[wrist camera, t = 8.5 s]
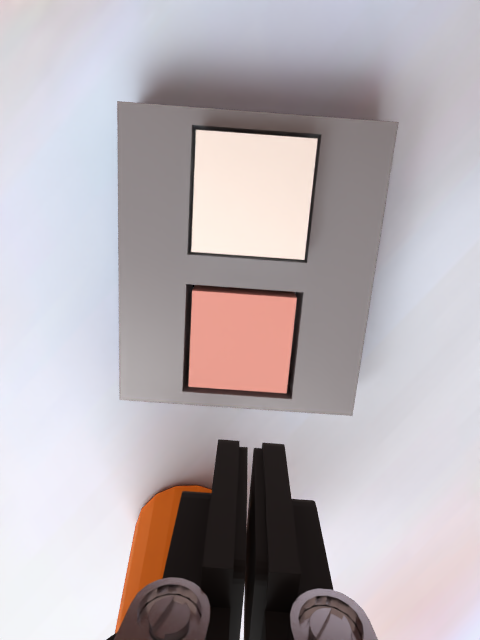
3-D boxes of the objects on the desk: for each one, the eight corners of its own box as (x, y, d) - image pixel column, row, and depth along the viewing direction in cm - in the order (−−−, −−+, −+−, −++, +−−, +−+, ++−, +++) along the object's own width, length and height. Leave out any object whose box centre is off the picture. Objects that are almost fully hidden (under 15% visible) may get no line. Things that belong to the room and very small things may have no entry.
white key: (309, 144, 21) (317, 138, 18) (298, 252, 22) (304, 259, 20) (201, 136, 21) (196, 129, 18) (197, 244, 22) (191, 251, 20)
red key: (291, 287, 24) (296, 298, 21) (282, 374, 25) (286, 393, 23) (197, 280, 24) (192, 290, 21) (193, 368, 25) (188, 386, 23)
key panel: (378, 130, 22) (398, 122, 19) (340, 390, 26) (352, 415, 23) (134, 112, 22) (117, 101, 19) (133, 376, 26) (119, 399, 23)
